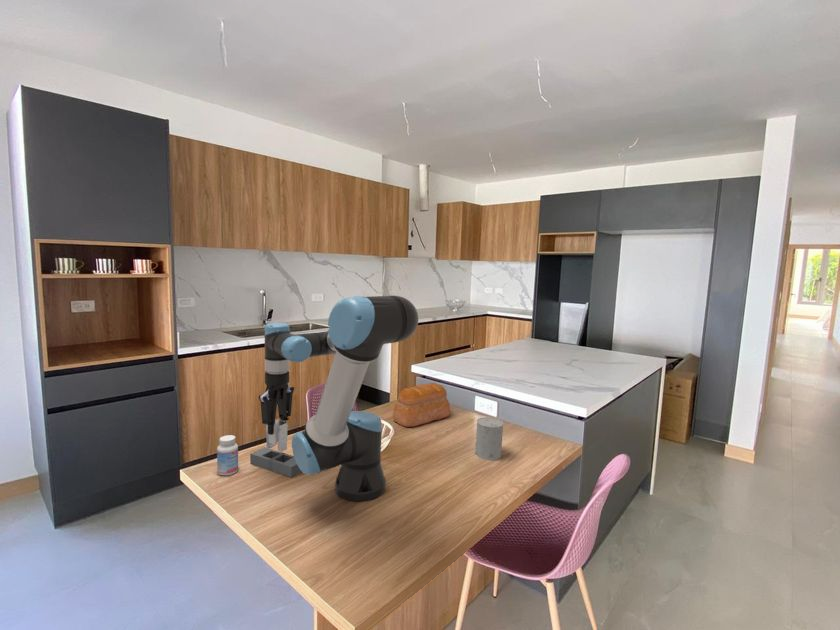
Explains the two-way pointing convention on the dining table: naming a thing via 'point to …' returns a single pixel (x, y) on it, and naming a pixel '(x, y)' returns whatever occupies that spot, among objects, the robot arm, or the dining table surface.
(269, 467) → the grey slotted block
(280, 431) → the white rectangular block
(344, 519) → the dining table surface
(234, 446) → the pill bottle
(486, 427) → the grey concrete cylinder
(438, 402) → the bread
